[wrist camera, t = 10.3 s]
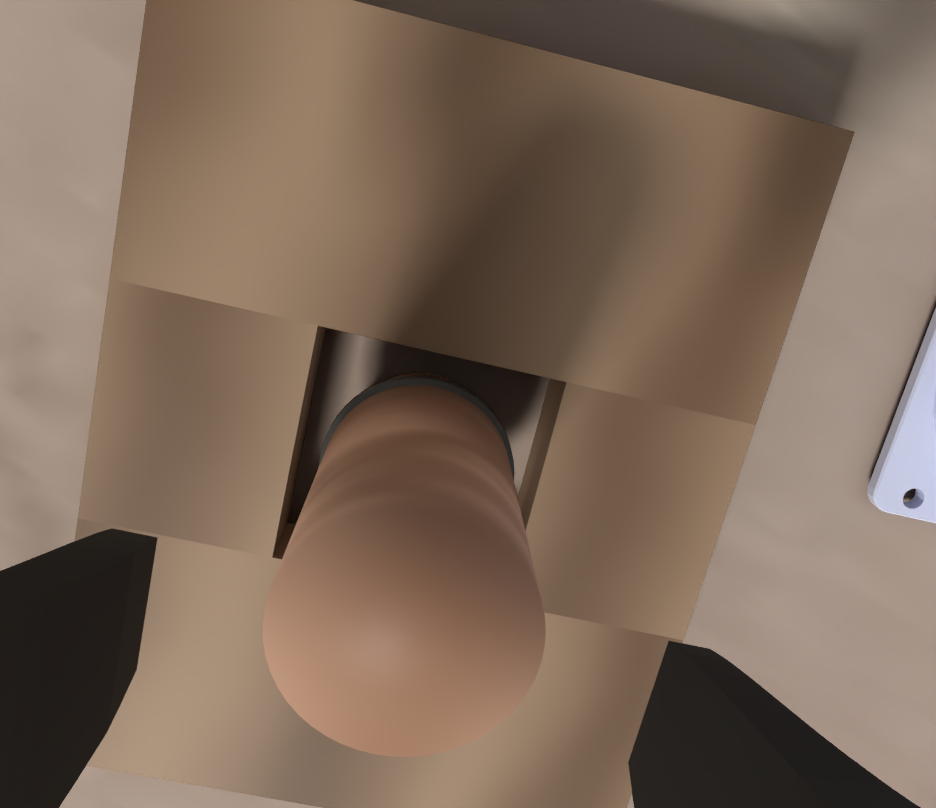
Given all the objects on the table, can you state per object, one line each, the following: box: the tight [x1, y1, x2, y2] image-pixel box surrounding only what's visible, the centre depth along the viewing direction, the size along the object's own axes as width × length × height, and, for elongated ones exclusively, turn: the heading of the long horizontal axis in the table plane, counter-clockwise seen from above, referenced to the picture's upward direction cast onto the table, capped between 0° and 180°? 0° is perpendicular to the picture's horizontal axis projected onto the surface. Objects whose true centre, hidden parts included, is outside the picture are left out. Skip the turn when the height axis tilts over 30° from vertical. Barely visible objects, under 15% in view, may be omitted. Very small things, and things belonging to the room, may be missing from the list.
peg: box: [263, 373, 546, 757], centre depth 17 cm, size 4×4×9 cm
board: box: [75, 0, 854, 808], centre depth 20 cm, size 14×18×2 cm
